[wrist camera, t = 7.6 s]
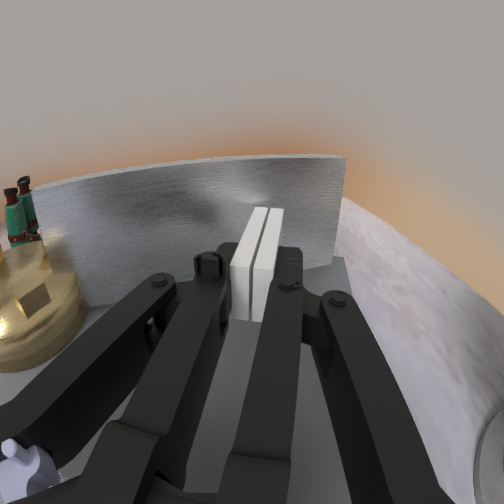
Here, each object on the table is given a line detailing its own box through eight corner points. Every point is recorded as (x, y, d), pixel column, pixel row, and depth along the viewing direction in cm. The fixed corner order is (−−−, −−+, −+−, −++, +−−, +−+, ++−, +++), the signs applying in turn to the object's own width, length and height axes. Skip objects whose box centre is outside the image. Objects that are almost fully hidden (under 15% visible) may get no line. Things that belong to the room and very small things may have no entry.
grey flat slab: (-41, 386, 11) (-69, 349, 9) (92, 245, 34) (85, 213, 31) (362, 539, 7) (402, 531, 5) (340, 269, 30) (348, 231, 27)
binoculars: (52, 185, 26) (-11, 193, 22) (64, 265, 31) (5, 268, 27) (72, 168, 33) (16, 175, 30) (78, 235, 38) (26, 239, 35)
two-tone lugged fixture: (-45, 371, 9) (-105, 261, 4) (-2, 281, 18) (-30, 194, 14) (369, 305, 17) (400, 179, 13) (294, 233, 26) (301, 143, 22)
